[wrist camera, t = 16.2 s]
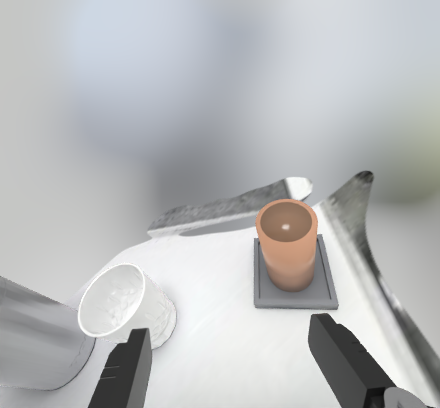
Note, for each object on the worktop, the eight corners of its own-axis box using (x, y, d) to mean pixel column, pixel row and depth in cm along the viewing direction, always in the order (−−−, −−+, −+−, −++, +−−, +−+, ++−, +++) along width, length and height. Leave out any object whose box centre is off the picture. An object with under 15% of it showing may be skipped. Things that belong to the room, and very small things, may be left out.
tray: (255, 307, 29) (254, 303, 28) (255, 243, 35) (254, 238, 34) (337, 309, 26) (338, 304, 25) (321, 240, 33) (321, 234, 32)
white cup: (118, 331, 32) (65, 308, 25) (157, 284, 35) (120, 252, 28) (151, 370, 27) (99, 355, 20) (192, 312, 31) (159, 282, 24)
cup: (268, 292, 29) (255, 248, 21) (266, 251, 33) (255, 201, 25) (318, 292, 27) (323, 244, 20) (310, 249, 31) (312, 195, 24)
